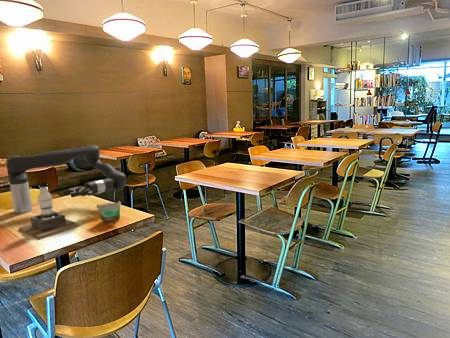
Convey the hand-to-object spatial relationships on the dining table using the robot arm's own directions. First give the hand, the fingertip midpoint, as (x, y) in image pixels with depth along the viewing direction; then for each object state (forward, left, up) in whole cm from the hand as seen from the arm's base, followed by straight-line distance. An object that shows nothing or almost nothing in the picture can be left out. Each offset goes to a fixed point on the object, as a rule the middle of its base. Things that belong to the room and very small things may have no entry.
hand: (67, 194), depth 181 cm
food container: (+20, +12, -15) cm, 28 cm away
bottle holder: (0, -11, -15) cm, 19 cm away
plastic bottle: (0, -11, -14) cm, 18 cm away
